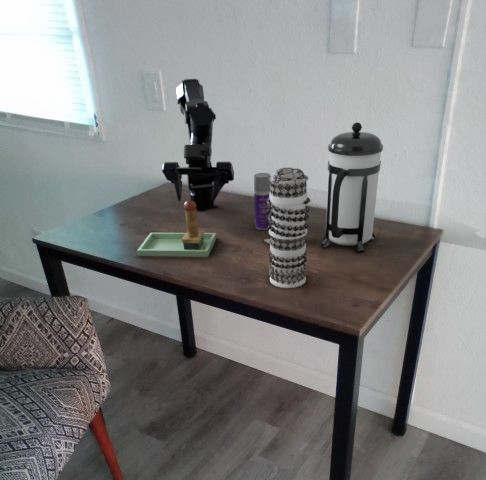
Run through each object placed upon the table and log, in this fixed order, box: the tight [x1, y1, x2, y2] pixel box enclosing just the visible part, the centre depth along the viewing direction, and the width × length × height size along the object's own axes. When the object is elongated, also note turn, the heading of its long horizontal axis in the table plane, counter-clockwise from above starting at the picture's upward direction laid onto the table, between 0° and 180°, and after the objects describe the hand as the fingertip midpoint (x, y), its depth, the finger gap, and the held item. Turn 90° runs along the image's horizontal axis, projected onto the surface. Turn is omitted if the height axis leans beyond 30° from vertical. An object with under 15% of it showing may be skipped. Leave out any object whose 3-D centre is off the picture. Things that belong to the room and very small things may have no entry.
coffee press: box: [320, 121, 384, 254], centre depth 120 cm, size 17×16×30 cm
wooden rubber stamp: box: [182, 199, 205, 250], centre depth 127 cm, size 4×6×13 cm
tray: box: [136, 232, 217, 258], centre depth 131 cm, size 19×12×2 cm, turn 82°
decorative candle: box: [266, 167, 311, 289], centre depth 107 cm, size 9×9×25 cm
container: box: [253, 172, 271, 231], centre depth 138 cm, size 5×5×15 cm
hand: (195, 200), depth 130 cm, fingers open, 9 cm apart
